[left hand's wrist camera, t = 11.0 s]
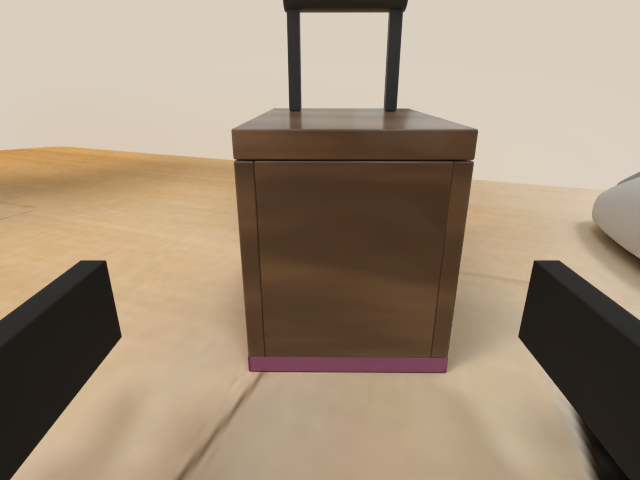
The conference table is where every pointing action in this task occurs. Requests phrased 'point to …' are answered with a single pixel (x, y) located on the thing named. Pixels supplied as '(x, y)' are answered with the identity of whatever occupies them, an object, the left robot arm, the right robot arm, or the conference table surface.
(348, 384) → the conference table surface
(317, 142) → the lid
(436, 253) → the chest
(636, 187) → the projector
